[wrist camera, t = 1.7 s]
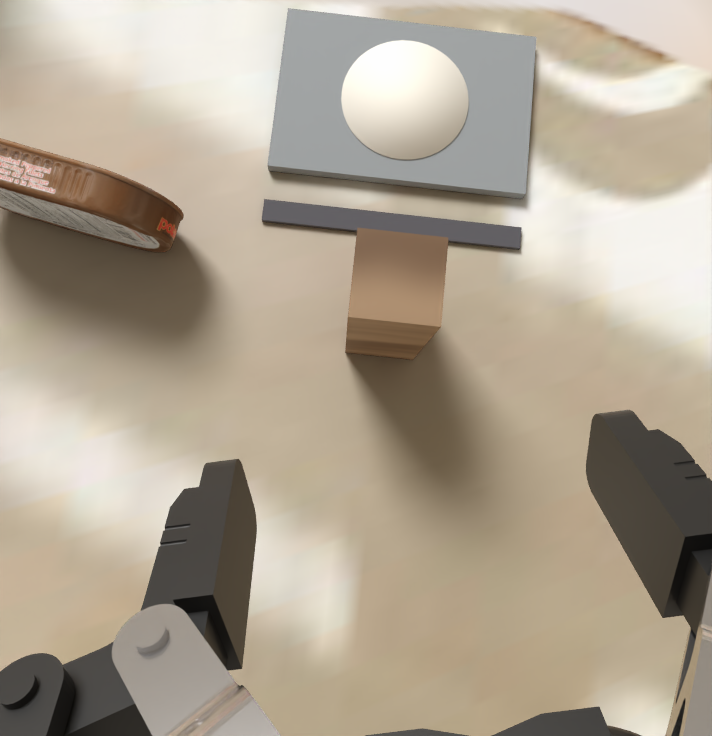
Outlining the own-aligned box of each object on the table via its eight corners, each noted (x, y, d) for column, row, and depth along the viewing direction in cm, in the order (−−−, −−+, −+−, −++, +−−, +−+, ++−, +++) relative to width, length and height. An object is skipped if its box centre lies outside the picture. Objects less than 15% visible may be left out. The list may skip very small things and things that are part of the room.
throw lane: (518, 249, 41) (522, 245, 40) (262, 221, 41) (260, 216, 40) (532, 44, 43) (536, 36, 42) (288, 16, 43) (287, 7, 42)
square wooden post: (412, 359, 40) (440, 326, 29) (345, 352, 40) (348, 316, 29) (418, 294, 40) (448, 237, 29) (352, 286, 40) (357, 227, 29)
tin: (198, 229, 40) (162, 173, 32) (184, 271, 40) (143, 226, 32) (-9, 169, 41) (-99, 97, 32) (-26, 210, 40) (-121, 149, 32)
